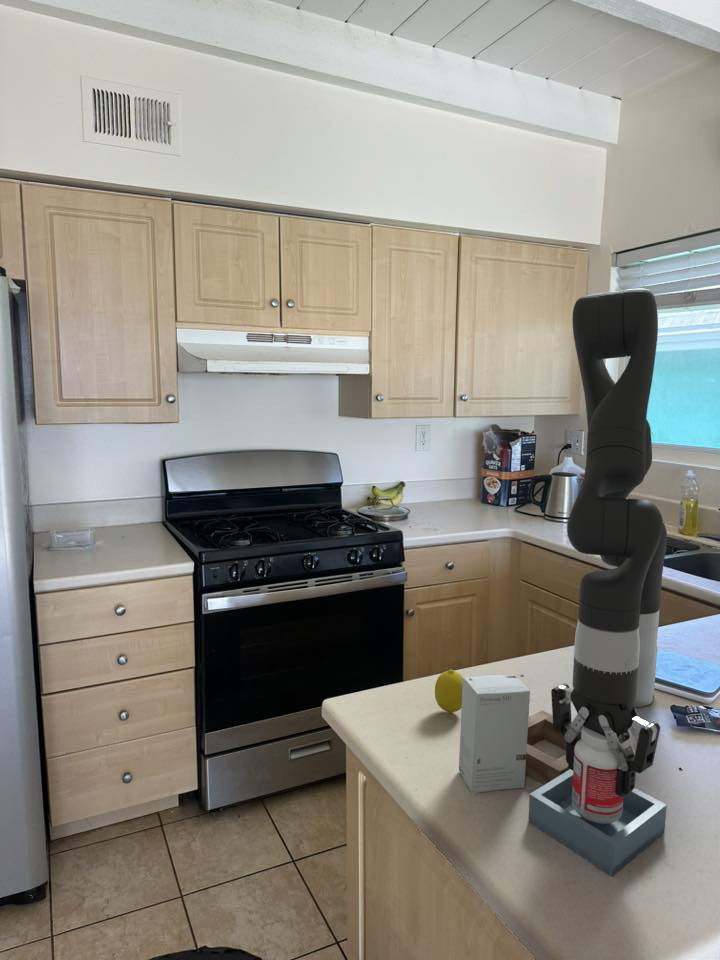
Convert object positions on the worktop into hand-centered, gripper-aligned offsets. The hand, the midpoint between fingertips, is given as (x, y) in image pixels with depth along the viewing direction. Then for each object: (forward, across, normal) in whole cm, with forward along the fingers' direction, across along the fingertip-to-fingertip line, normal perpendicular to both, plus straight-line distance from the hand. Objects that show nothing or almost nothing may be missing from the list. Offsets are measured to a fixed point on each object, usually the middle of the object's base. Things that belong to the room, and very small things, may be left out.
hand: (598, 779), depth 83 cm
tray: (+7, 0, 0) cm, 7 cm away
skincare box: (+7, +15, +3) cm, 17 cm away
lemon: (+7, +32, -6) cm, 33 cm away
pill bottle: (+4, 0, 0) cm, 4 cm away
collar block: (+7, +13, -8) cm, 17 cm away
